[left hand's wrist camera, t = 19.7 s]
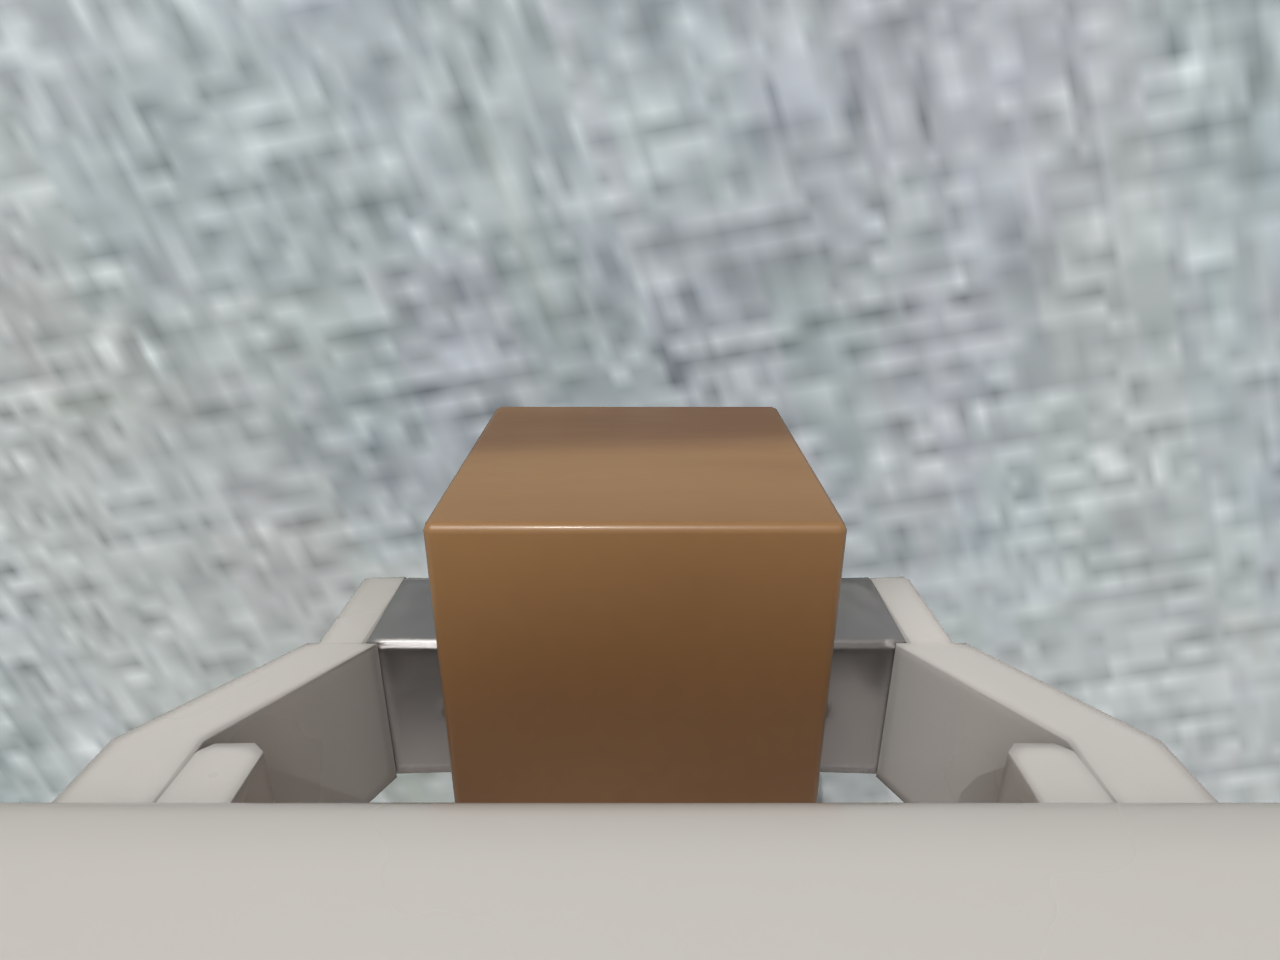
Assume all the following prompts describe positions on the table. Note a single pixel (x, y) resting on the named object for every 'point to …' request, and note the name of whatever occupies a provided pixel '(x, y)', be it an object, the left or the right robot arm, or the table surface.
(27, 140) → the table surface
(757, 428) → the block
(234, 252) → the table surface
